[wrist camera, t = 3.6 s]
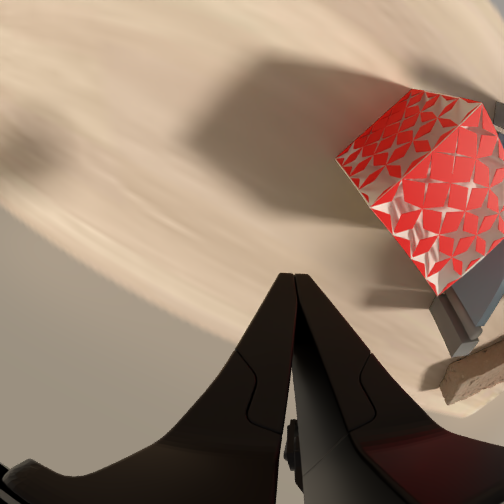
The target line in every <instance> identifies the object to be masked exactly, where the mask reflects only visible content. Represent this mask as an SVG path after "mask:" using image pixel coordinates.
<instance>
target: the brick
mask: <svg viewBox="0 0 504 504" xmlns="http://www.w3.org/2000/svg"><path fill="white" fill-rule="evenodd" d="M501 382H504V340H502V341H500V342H498V343H496V344H494V345H492V346H490V347H488V348H486V349H483V350H481V351H479V352H477V353H475V354H472V355H470V356H467V357H465V358H463V359H462V360H459V361H456V362H453V363H451V364H450V365H449V367H448V369H447V372H446V375H445V377H444V379H443V381H442V382H441V384H440V389H441V392H442V395H443V397H444V398H445V402H446V404H447V405H451V404H454V403H455V402H457V401H460V400H464V399H467V398H468V397H470V396H473V395H474V394H476V393H478V392H480V391H481V390H482V389H486V388H490V387H493V386H495V385H496V384H498V383H501Z"/></svg>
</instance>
